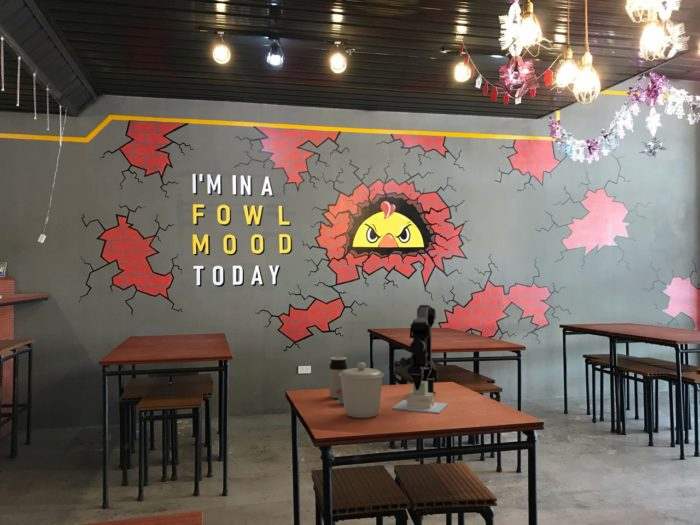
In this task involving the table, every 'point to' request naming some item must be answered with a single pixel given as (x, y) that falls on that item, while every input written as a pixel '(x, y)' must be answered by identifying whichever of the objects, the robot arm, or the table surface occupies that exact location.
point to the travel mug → (336, 374)
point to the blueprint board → (434, 409)
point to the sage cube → (421, 388)
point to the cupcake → (340, 395)
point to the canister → (361, 391)
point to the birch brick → (420, 400)
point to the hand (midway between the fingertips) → (420, 387)
